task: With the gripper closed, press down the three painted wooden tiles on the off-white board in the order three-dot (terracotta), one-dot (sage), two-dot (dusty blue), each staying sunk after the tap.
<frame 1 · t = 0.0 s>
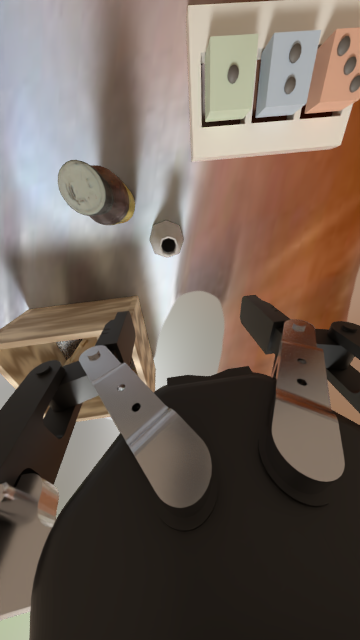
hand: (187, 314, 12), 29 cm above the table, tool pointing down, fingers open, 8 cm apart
tile two: (285, 78, 23), point 4 cm above the table, slide at 0.0 cm
sauce bottle: (120, 204, 32), on the table
tile three: (339, 74, 24), point 4 cm above the table, slide at 0.0 cm
flask: (166, 239, 36), on the table
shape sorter: (101, 342, 48), resting in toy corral
tile one: (229, 82, 23), point 4 cm above the table, slide at 0.0 cm
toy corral: (102, 343, 48), on the table
board: (269, 95, 27), on the table
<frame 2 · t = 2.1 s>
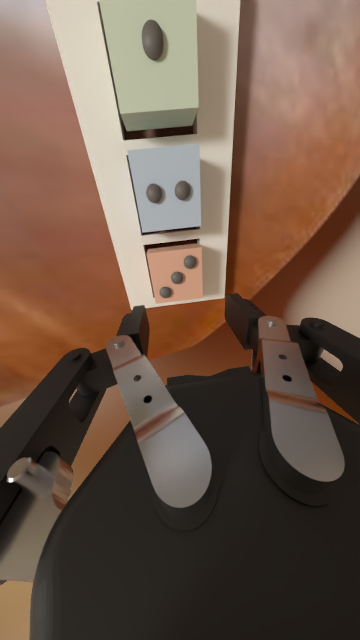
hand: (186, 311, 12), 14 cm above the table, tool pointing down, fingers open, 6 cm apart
tile two: (167, 194, 16), point 4 cm above the table, slide at 0.0 cm
tile three: (176, 274, 21), point 4 cm above the table, slide at 0.0 cm
tile one: (153, 59, 12), point 4 cm above the table, slide at 0.0 cm
board: (166, 198, 20), on the table
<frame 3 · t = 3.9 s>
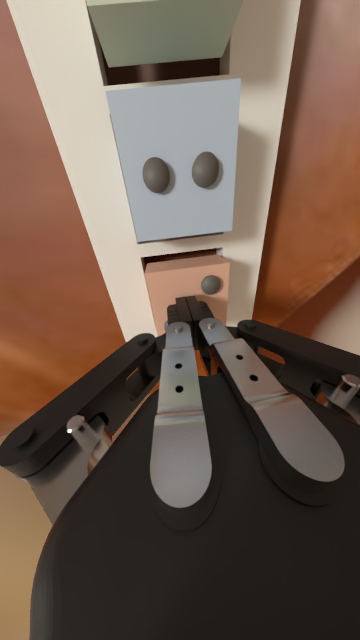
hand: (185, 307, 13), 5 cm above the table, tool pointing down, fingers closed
tile two: (178, 178, 10), point 4 cm above the table, slide at 0.0 cm
tile three: (187, 299, 14), point 4 cm above the table, slide at 0.1 cm, touching gripper
board: (174, 188, 13), on the table
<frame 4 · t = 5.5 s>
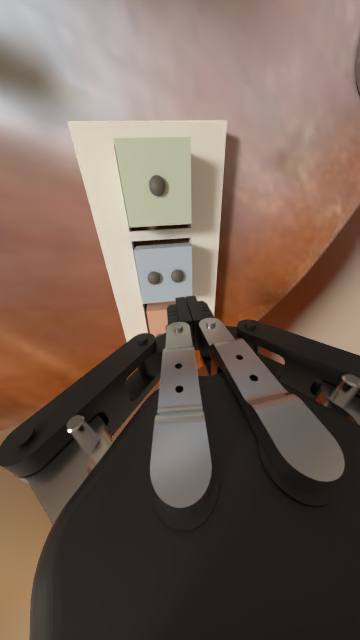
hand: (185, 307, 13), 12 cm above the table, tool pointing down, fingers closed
tile two: (165, 273, 20), point 4 cm above the table, slide at 0.0 cm
tile three: (169, 322, 25), point 2 cm above the table, slide at 1.7 cm
tile one: (157, 188, 16), point 4 cm above the table, slide at 0.0 cm
board: (163, 266, 23), on the table
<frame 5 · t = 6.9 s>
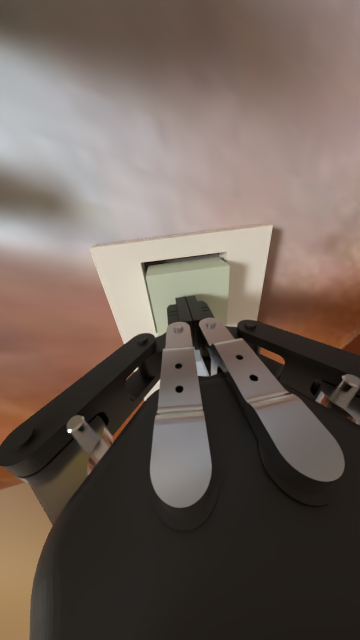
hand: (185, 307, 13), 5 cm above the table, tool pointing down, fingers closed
tile two: (195, 372, 18), point 4 cm above the table, slide at 0.0 cm
tile one: (188, 301, 14), point 3 cm above the table, slide at 1.0 cm, touching gripper
board: (190, 348, 21), on the table
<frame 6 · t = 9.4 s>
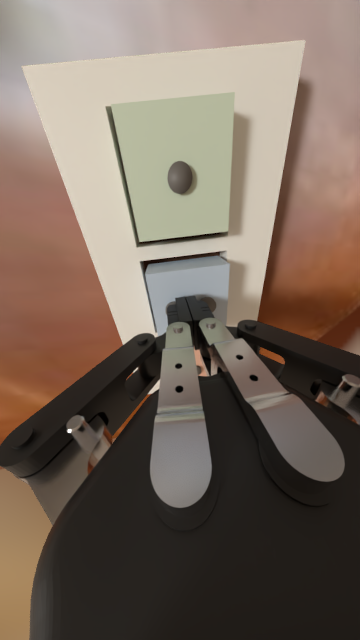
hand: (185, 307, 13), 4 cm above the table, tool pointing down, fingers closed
tile two: (188, 299, 14), point 3 cm above the table, slide at 1.1 cm
tile three: (192, 360, 19), point 2 cm above the table, slide at 1.7 cm
tile one: (177, 182, 11), point 2 cm above the table, slide at 1.8 cm
board: (184, 288, 17), on the table
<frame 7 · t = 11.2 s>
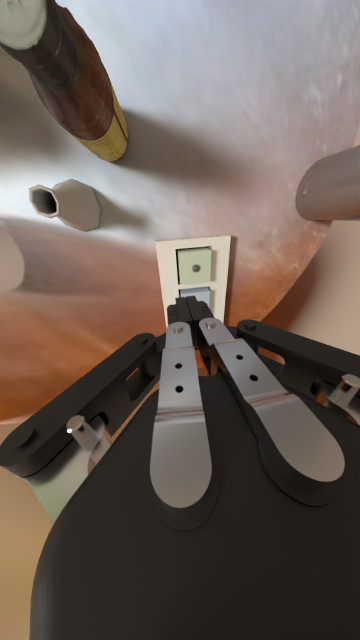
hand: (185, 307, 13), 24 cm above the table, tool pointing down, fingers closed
tile two: (194, 302, 37), point 2 cm above the table, slide at 1.8 cm
sauce bottle: (107, 137, 24), on the table
flask: (79, 207, 28), on the table
tile one: (194, 266, 33), point 2 cm above the table, slide at 1.8 cm
board: (193, 299, 39), on the table
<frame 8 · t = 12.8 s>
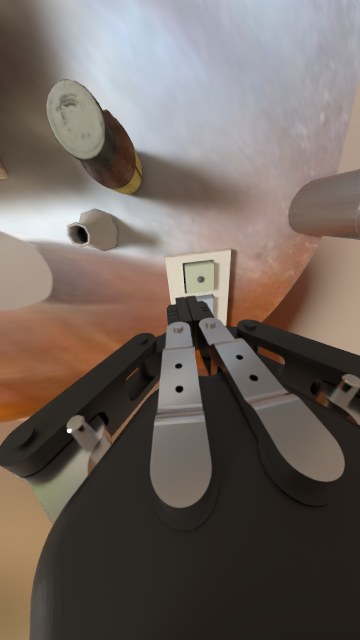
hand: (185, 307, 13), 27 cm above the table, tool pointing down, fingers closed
tile two: (200, 308, 42), point 2 cm above the table, slide at 1.8 cm
sauce bottle: (125, 174, 29), on the table
flask: (100, 230, 33), on the table
tile one: (199, 277, 37), point 2 cm above the table, slide at 1.8 cm
board: (198, 305, 43), on the table
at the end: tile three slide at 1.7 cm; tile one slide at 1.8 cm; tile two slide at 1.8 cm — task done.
